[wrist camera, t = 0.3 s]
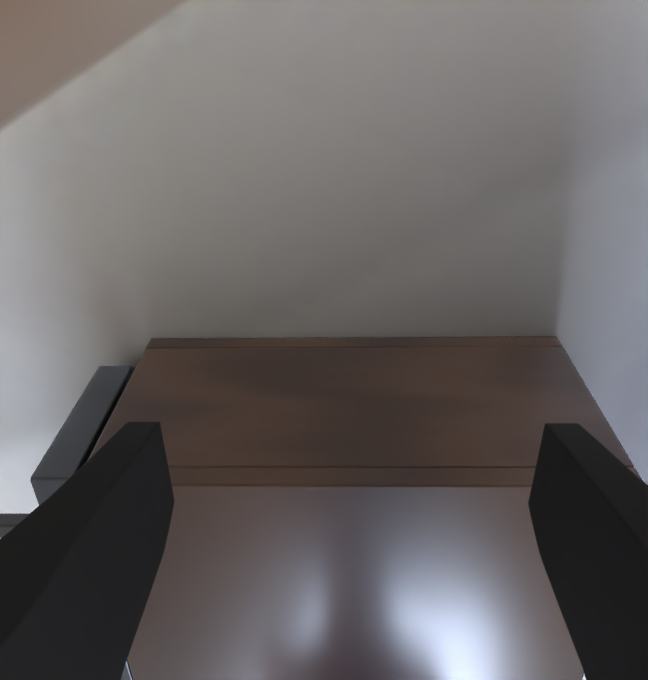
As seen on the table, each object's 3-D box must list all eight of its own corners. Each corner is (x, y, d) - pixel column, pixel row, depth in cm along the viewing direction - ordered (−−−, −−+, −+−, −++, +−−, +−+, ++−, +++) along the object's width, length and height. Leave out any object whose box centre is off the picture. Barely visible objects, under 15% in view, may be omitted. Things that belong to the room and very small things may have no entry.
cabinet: (199, 599, 29) (160, 771, 23) (150, 338, 22) (73, 484, 16) (504, 601, 29) (550, 777, 23) (557, 335, 22) (646, 485, 15)
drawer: (54, 605, 29) (-5, 736, 24) (-36, 365, 22) (-144, 478, 17) (450, 608, 28) (473, 742, 23) (482, 363, 21) (525, 479, 16)
